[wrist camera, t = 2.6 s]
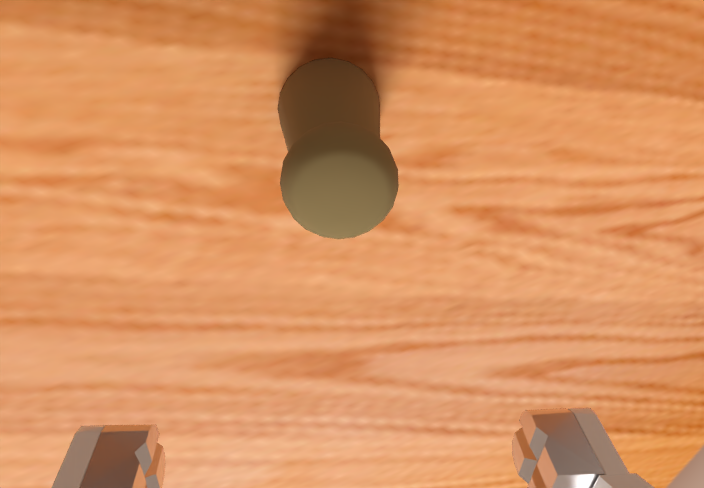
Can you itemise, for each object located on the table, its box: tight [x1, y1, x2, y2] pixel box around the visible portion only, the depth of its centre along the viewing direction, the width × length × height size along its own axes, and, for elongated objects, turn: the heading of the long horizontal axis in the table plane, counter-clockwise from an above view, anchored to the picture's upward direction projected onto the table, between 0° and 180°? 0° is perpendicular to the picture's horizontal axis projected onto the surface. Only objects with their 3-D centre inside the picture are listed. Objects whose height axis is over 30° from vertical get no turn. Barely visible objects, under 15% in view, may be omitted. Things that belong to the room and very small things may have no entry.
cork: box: [278, 58, 398, 239], centre depth 26 cm, size 6×6×11 cm
